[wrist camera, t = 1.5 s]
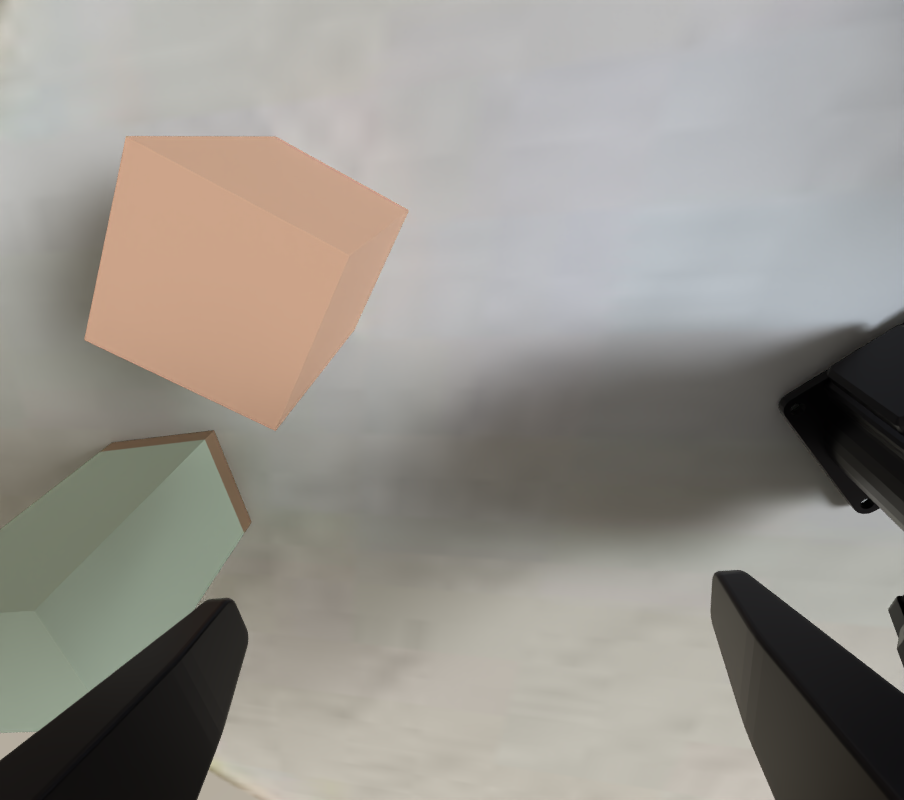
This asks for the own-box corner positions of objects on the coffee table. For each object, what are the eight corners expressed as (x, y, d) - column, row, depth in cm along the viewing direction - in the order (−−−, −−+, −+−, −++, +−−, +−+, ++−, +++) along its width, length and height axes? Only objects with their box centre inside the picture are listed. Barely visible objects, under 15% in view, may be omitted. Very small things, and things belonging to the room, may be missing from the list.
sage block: (214, 430, 23) (34, 610, 15) (251, 522, 26) (114, 729, 17) (112, 442, 24) (-119, 620, 15) (156, 530, 26) (-24, 733, 17)
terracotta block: (409, 210, 19) (349, 255, 12) (354, 330, 21) (275, 431, 14) (275, 136, 18) (125, 135, 11) (233, 268, 20) (84, 339, 13)
